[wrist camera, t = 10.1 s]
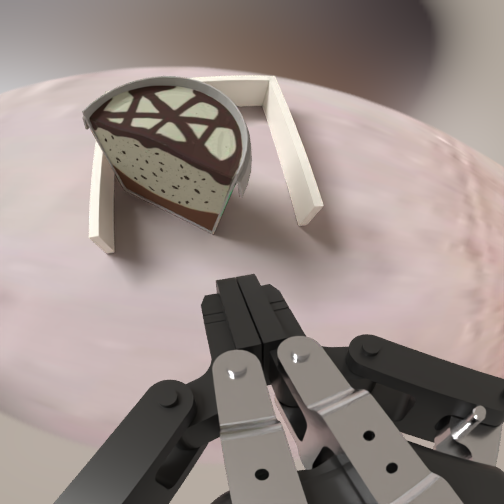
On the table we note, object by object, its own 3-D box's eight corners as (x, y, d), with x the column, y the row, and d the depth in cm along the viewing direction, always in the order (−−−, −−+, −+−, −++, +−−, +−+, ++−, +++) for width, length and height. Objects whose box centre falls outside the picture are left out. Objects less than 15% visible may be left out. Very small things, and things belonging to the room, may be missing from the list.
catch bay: (106, 253, 21) (88, 237, 17) (113, 117, 25) (105, 91, 21) (306, 225, 25) (323, 205, 21) (267, 101, 29) (274, 76, 25)
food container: (260, 186, 25) (289, 109, 16) (229, 243, 23) (247, 178, 14) (149, 137, 25) (135, 58, 15) (112, 184, 23) (77, 110, 13)
